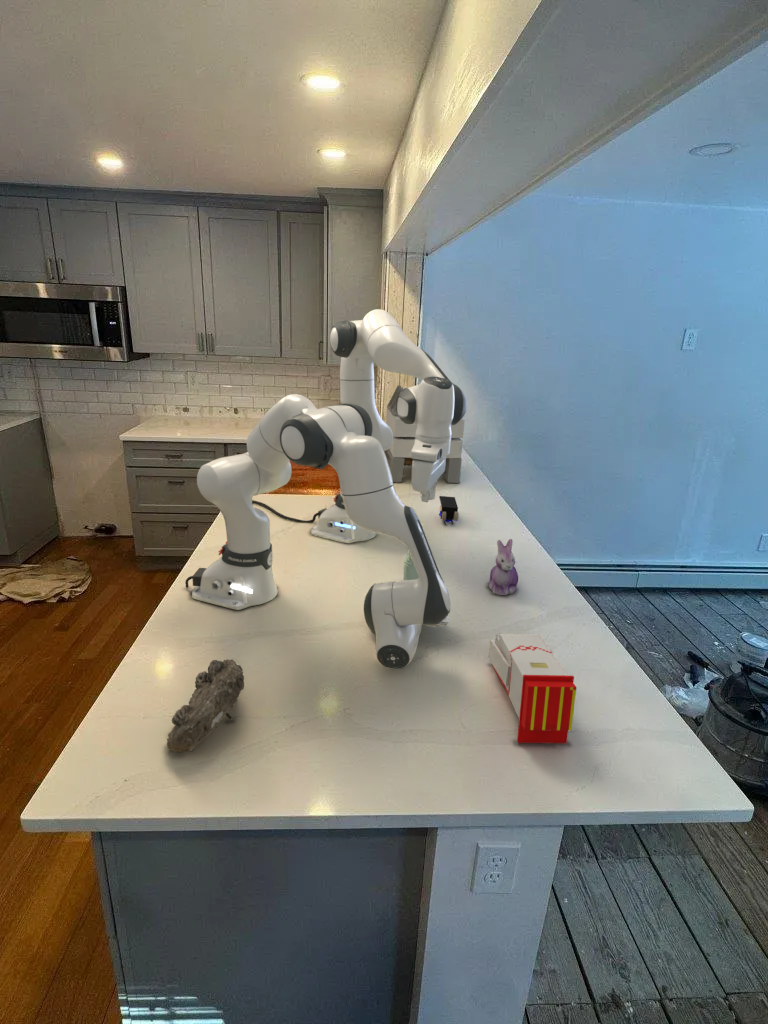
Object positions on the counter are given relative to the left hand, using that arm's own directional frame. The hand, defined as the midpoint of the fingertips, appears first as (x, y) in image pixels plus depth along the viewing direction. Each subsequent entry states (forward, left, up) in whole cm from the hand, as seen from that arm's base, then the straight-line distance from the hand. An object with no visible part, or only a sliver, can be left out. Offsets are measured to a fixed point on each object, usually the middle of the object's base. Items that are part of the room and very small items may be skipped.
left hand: (411, 593), depth 147 cm
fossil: (-31, -49, -6) cm, 58 cm away
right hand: (+2, +7, +24) cm, 25 cm away
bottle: (0, -1, -6) cm, 6 cm away
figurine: (+24, +20, -6) cm, 32 cm away
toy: (+28, -28, -6) cm, 40 cm away
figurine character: (+4, +72, -6) cm, 73 cm away
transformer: (-14, +134, -6) cm, 135 cm away
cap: (+2, +7, +26) cm, 27 cm away
